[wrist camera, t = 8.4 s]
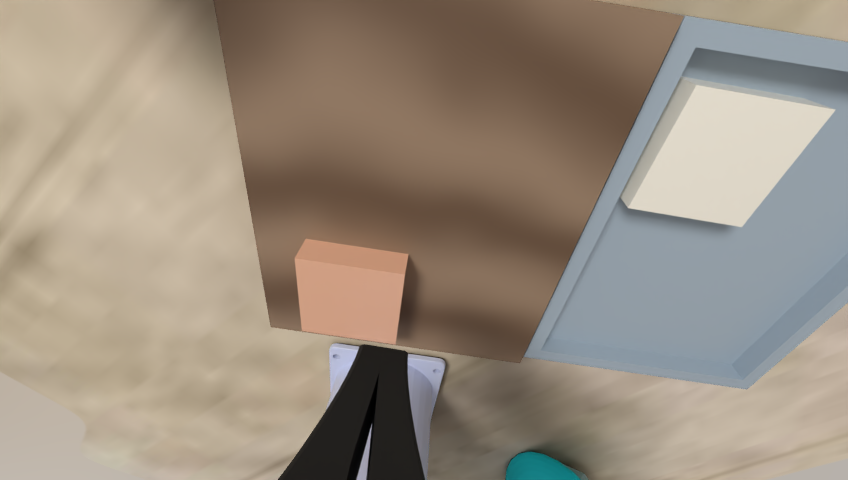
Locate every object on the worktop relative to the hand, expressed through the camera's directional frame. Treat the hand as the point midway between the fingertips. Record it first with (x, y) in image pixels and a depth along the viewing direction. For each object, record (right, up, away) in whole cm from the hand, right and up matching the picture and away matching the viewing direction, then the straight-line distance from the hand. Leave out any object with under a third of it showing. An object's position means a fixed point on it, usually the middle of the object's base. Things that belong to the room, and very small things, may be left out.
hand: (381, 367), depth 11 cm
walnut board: (+1, +6, +7) cm, 9 cm away
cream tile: (+13, +8, +4) cm, 16 cm away
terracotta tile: (-2, +2, +8) cm, 9 cm away
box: (+16, +4, +7) cm, 18 cm away
